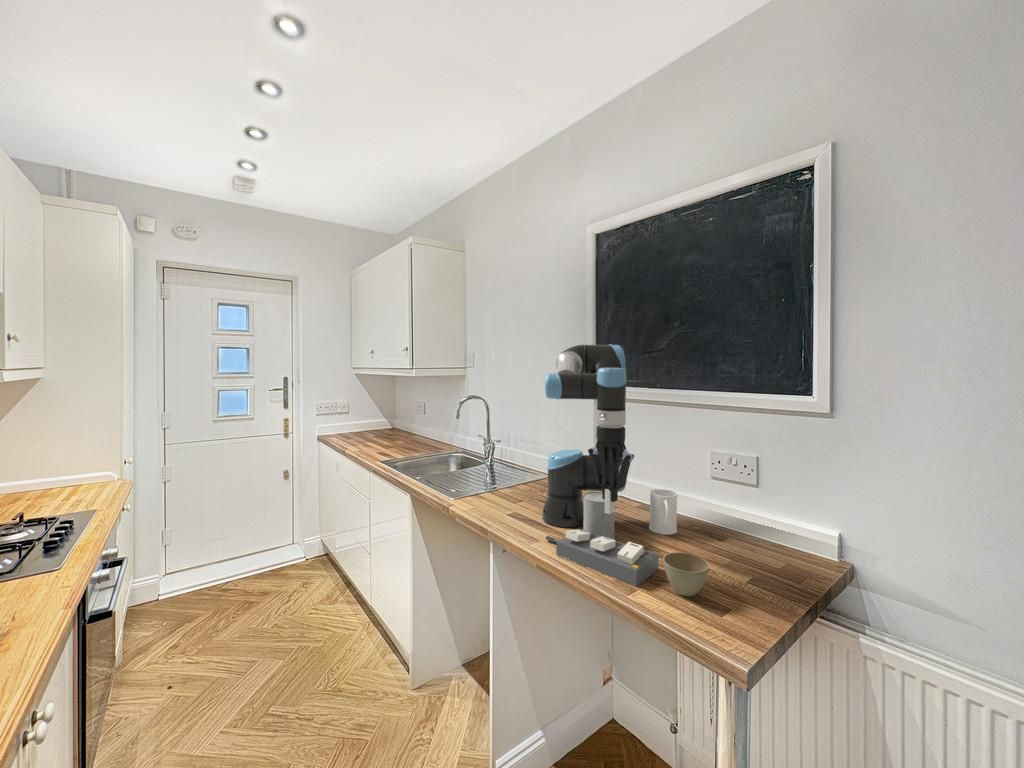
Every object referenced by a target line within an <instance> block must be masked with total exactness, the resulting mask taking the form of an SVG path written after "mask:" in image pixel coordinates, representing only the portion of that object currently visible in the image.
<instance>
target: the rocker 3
mask: <svg viewBox="0 0 1024 768" xmlns="http://www.w3.org/2000/svg"><path fill="white" fill-rule="evenodd" d="M625 544H626V545H625V546H624V547H623V548H622V549H621V550H620V551H619V552H618V553H617V557H618V560H620V561H623V562H625V563H628V564H631V565H633V564H634V563H635V561H636V560H637V559H638V558H639V557H640V556H641V555H642V554H643V553H644V550H645V549H644V546H643V545H641V544H637V543H634V542H631V541H628V542H627V543H625ZM643 549H644V550H643Z"/></svg>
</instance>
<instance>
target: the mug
mask: <svg viewBox="0 0 1024 768" xmlns="http://www.w3.org/2000/svg"><path fill="white" fill-rule="evenodd" d="M649 495H650V503H649V525H648V530H650V531H651V532H653V533H655V534H659V535H664V536H665V535H666V536H668V535H675V534H676V533H678V529H677V528H678V527H677V517H678V515H677V514H678V513H677V512H678V508H677V507H678V493H677V492H676V491H673V490H669V489H665V488H664V489H663V488H661V489H659V488H658V489H657V488H655V489H652V490H650V493H649Z"/></svg>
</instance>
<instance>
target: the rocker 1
mask: <svg viewBox="0 0 1024 768" xmlns="http://www.w3.org/2000/svg"><path fill="white" fill-rule="evenodd" d="M582 530H583V529H572V530H566V531H565V536H564V538H568V539H571V540H574V541H577V542H579V541H585V540H590V533H588V532H585V531H582Z"/></svg>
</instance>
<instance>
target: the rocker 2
mask: <svg viewBox="0 0 1024 768" xmlns="http://www.w3.org/2000/svg"><path fill="white" fill-rule="evenodd" d="M616 541H617V540H616V539H610V538H607V537H604V536H602V537H599V538H596V539H593V540H591V541H590V547H591V548H594V549H597V550H600V551H603V552H604V551H606V550H609V549H612V548H614V547H615V543H616Z"/></svg>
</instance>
